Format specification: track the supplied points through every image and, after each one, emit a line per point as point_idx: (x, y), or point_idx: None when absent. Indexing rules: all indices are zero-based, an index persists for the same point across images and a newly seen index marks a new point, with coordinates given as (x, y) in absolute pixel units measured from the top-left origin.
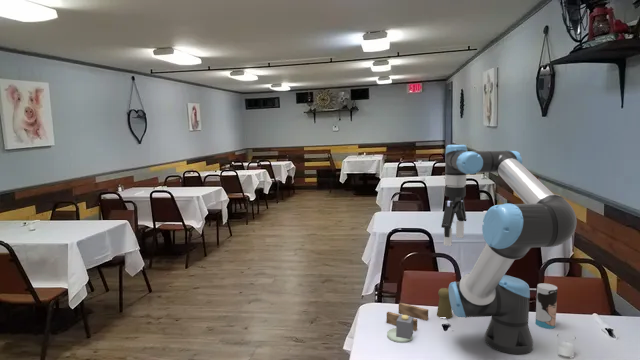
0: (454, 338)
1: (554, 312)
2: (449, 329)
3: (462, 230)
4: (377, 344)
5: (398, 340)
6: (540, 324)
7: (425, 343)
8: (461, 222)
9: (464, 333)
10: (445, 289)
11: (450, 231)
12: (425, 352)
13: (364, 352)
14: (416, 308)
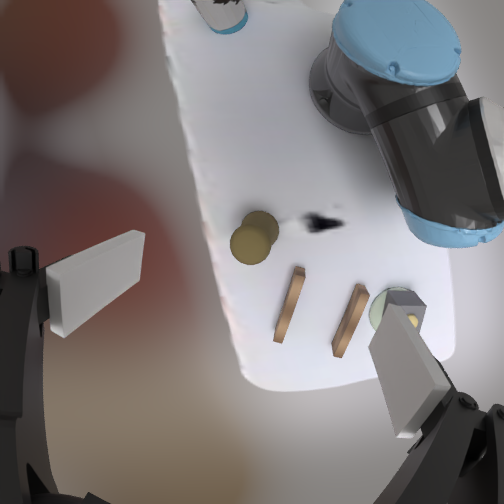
0: (376, 201)
1: None
2: (335, 213)
3: (113, 253)
4: (426, 339)
5: None
6: (243, 23)
7: (411, 259)
8: (67, 289)
9: (344, 179)
10: (251, 246)
11: (436, 373)
12: (442, 255)
13: (450, 349)
14: (296, 302)
